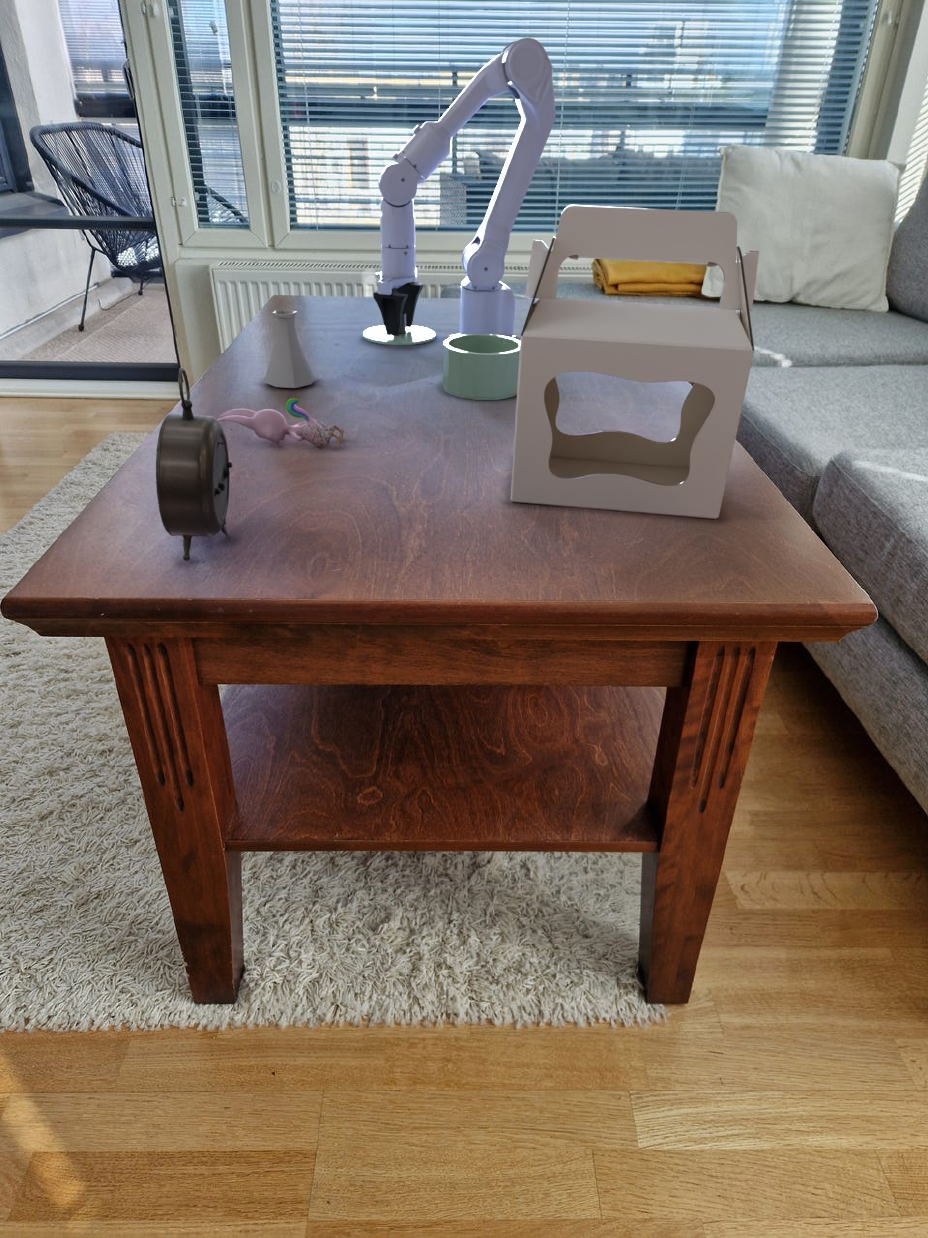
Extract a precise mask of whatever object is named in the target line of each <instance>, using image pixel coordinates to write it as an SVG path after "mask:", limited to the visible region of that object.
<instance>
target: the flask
mask: <svg viewBox="0 0 928 1238" xmlns="http://www.w3.org/2000/svg"><path fill="white" fill-rule="evenodd" d="M297 314H298V311H297V310H293V309H283V308H282V309H277V310H274V311H272V317H274V320H275V333H274V342H273V345H272V350H271V354H270V359H269V362H268V366H267V369H266V372H265V377H264V381H263V383H264V384H267V385H270V386H273V387H274V388H285V389H286V388H287V389H296V388H298V389H299V388H301V387H306V386H309V385H310V386H311V385H312V384H313V383H314V382H315V381H316V380H317V377H316V375H315V372H314V370H313V368H312V366H311V363H310V362H309V359H308V357H307V356H306V352H305V350H304V348H303V345H302V343H301V340H300V338H299V334H298V330H297V325H296V317H297Z"/></svg>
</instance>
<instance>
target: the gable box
mask: <svg viewBox="0 0 928 1238" xmlns="http://www.w3.org/2000/svg"><path fill="white" fill-rule="evenodd" d="M759 256H760V251H759V250H748V251H747V252H745V253H744V254H743V253H742V250H741V247H740V246H738V220H737V218H736V216H735V215H734V214H733V213H731V212H728V211H713V210H712V211H711V210H710V211H709V210H693V209H692V210H687V209H669V208H668V209H667V208H646V207H628V206H627V207H624V206H603V205H602V206H601V205H585V204H584V205H583V204H582V205H581V204H569V205H567V206H566V207H565V208H564V209H563V210H562V212H561V213H560V218H559V222H558V227H557V230H556V234H555V236H552V239H551V242H550V245H549V246H548V245H547V244H546V243H545V241H543V239H532V246H531V252H530V259H529V266H528V273H527V279H526V287H525V293H524V298H525V299H532V300H531V302H530V306H529V309H528V312H527V314H526V317H525V321H524V324H523V327H522V329H521V333H520V340H519V341H520V355H519V371H518V387H517V395H516V404H515V405H516V406H515V420H514V421H515V422H514V433H513V435H514V437H513V450H512V451H513V453H512V468H511V469H512V470H511V484H510V502H512V503H521V504H531V505H543V506H544V505H545V506H555V507H556V506H557V507H565V508H567V507H568V508H581V509H593V510H602V511H616V512H629V513H639V514H649V515H650V514H652V515H661V516H662V515H663V516H676V517H689V518H697V519H699V518H700V519H711V520H712V519H713V520H716V519H719V517H720V513H721V508H722V504H723V499H724V494H725V489H726V485H727V480H728V475H729V471H730V466H731V461H732V456H733V452H734V448H735V443H736V438H737V433H738V428H739V425H740V419H741V415H742V410H743V405H744V401H745V395H746V393H747V386H748V381H749V378H750V373H751V367H752V362H753V358H754V353H755V343H754V336H753V328H752V320H751V313H750V312H752V311H753V306H754V305H753V304H754V297H755V290H756V289H755V288H756V280H757V272H758V265H759ZM568 258H569V259H572V260H575V261H576V260H578V259H579V258H580V259H596V260H615V261H634V262H636V261H637V262H654V263H670V264H672V263H673V264H688V265H689V264H691V265H692V264H693V265H706V266H707V267H709V268H713V267H716V266H718V267H719V268H720V270H721V271H722V274H723V283H722V288H721V294H720V298H719V304H718V307H717V306H700V305H682V304H665V303H648V302H647V303H646V302H632V301H631V302H630V301H616V300H615V301H613V300H612V301H611V300H596V299H595V300H594V299H581V298H580V299H579V298H578V299H577V298H563V297H561V298H560V297H557V294H558V293H557V292H558V291H557V290H558V281H559V271H560V268H561V265H562V264H563V262H564V261H565V260H566V259H568ZM536 299H537V300H536ZM580 372H581V373H594V374H595V373H596V374H601V375H607V376H612V377H615V378H619V379H624V380H628V381H631V382H638V383H644V384H645V383H647V384H651V383H653V384H654V383H656V384H657V383H671V382H673V383H674V382H685V383H686V382H688V383H693V384H692V387H691V388H690V390H689V392H688V394H687V395H686V397H685V399H684V402H683V403H682V407H681V410H680V422H679V423H680V424H679V425H680V426H679V430H678V433H677V435H676V436H675V438H673V439H672V440H669V441H656V440H652V439H649V438H646V437H644V436H641V435H638V434H636V433H631V432H627V431H622V430H601V431H594V432H588V433H579V434H573V433H565V432H563V431H561V430H560V429H559V428H558V426H557V422H556V420H557V416H558V415H557V414H558V411H559V407H560V390H559V386H558V381H557V378H556V377H557V376H561V375H562V374H567V373H580Z"/></svg>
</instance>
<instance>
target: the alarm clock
mask: <svg viewBox="0 0 928 1238" xmlns="http://www.w3.org/2000/svg"><path fill="white" fill-rule="evenodd" d="M177 377H178V378H177V383H178V390H179V396H180V400H181V402H180V406H181V408H182V413H172V412H171V413H168V414H167V415H166V416H165V417H164V418H163V420H162V423H161V426H160V429H159V434H158V437H157V443H156V450H155V451H156V453H155V456H156V457H155V486H156V496H157V504H158V509H159V510H158V512H159V515H160V518H161V519H160V520H161V523H162V526H163V527H164V530H165V531H166V532H167V534H169V535H170V536H171V537H175V536H177V537H179V536H181V537H182V538H183V539H182V540H183V541H182V545H183V555H182V560H183V561H185V562H188V561H190V560H191V556H190V551H191V546H192V539H193V537H204V538H210V537H214V536H216V535H217V534H218V533H220V531H221V532H222V534H223V535H224V536H225V537H226V538H227V539H229V540H231V539H232V537H231V535H230V534H229V532H228V530H227V527H226V524H227V513H228V510H229V509H228V508H229V500H230V499H229V498H230V475H231V471H230V469H232V468H233V463H232V462H231V461H230V458H229V456H230V455H229V449H228V441H227V437H226V433H225V430H224V428H223V426H222V424H221V423H220V422H218V421H217V418H216V417H213V416H211V415H201V414H193V409H192V408H193V402H192V400H191V392H190V391H191V390H190V384H189V378H188V374H187V372H186V369H185V368H184V367H180V368H178V376H177ZM183 380H184V383H185V390H186V399H185V396H184V395H185V394H184V387H183Z"/></svg>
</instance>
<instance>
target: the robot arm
mask: <svg viewBox="0 0 928 1238" xmlns="http://www.w3.org/2000/svg"><path fill="white" fill-rule="evenodd" d="M553 78H554V67H553V65H552V63H551V60H550V58H549V55H548V53H547V51H546V49H545V47H544V45H543V44H542V43H541V42H540V41H539V40H537V39H535V38H532V37H523V38H520V39H517V40H514V41H512V42H509V43H508V44H506V46H505V47H503V49H502V50H501V52H500V53H499V54H497V55H495V56H494V57H492V59H491V60H489V61H488V62H487V63H486V64H485V65H484V66H482V67H481V68H480V70H478V71H477V73H476V74H475V75H474V77H473V78H472V79H471V80H470V81H469V83H467V84H466V86H465V87H464V88H463V90H462V91H461V92H460V93H459V95H458V96H457V97H456V98H455V99H454V101H453V102H452V103H451V104H450V106H449V108H447V109H446V111H445V112H443V114H442V116H441V117H440V118H439V119H438V121H425V122H424V123H422V125H421V126H420V125H419V124H417V125H416V126H415V127H414V128H413V129H412V134H413V135H412V137H411V138H410V139H409V140H408V141H407V142H406V143H405V145H404V146H403V147H402V148H401V149H400V151H398V152H397V151H394V153H393V154H392V155H391V159H392V160H393V161H394V162H392V163H389V164H387V165H386V166H385V167H383V169H382V170H381V172H380V174H379V178H378V182H377V185H378V189H379V192H380V194H381V196H382V197H381V201H380V211H381V213H380V214H379V226H380V227H379V230H380V266H381V271H376V272H375V273H374V278H376V279H379V281H378V282H377V289H374V290H373V292H372V297H373V299H374V301H375V303H376V304H377V307H378V309H379V311H380V314H381V318H382V322H383V325H384V326H385V330H386V334H387V335H392V336H399V334H400V329H401V320H402V312H405V313H406V327H411V326H413V321H414V317H415V312H416V307H417V303H418V300H419V297H420V295H421V292H422V291H423V289H424V283H423V282H417V280H418V267H416V215H415V213H414V212H415V211H414V210H415V209H414V207H415V206H414V203H415V202H414V201H415V200H414V199H415V197H416V196H417V192H418V185H419V184H425V182H426V181H427V180H428V179H429V178H430V177H431V176H432V175H433V174H434V172H435V171H436V170H437V169H438V167H439V166H441V164H442V163H443V162H444V161H446V159H447V157H449V155H451V153H452V140H453V137H454V136H455V135H456V134H457V133H459V131H460V130H461V129H462V128H463V127H464V126H465V125H466V124H467V122H469V120H470V119H471V118H472V117H473V116H474V115H475V114H476V113H477V112H478V111H479V110H480V109H481V107H482V106H484V105H485V103H486V102H488V100H489V99H490V98H494V97H497V96H499V95H500V96H501V95H503V94H506V93H509V92H510V93H511V95H512V96H513V97H514V100H515V101H514V102H515V103H516V107H517V109H518V112H519V114H520V117H521V121H520V122H519V123H520V124H519V126H518V129H517V131H516V133H515V136H514V139H513V142H512V145H511V147H510V150H509V152H508V155H507V158H506V160H505V163H504V166H503V168H502V171H501V174H500V176H499V178H498V182H497V185H496V187H495V189H494V192H493V195H492V197H491V200H490V202H489V205H488V208H487V210H486V213H485V215H484V219H483V221H482V223H481V224H480V226H479V227H478V229H477V230H476V234H475V235H474V238H473V239H472V241H470V243H468V244H467V246H466V247H465V248H464V250H463V252H462V256H461V265H462V268H463V270H464V272H465V273H466V276H465V278H464V279H463V280H462V281H461V282H460V304H459V305H460V306H459V307H460V309H459V316H460V317H459V332H458V333H454V334H450V335H449V338H450V337H454V336H458V335H466V334H492V335H500V336H506V337H510V338H517V335H514V328H515V310H516V299H515V295H514V293H513V290H512V289H511V288H510V287H509V286H508V285H507V284H505V283H503V281H502V280H503V277H504V274H505V269H506V268H505V257H506V254H507V253H508V248H509V245H510V244H509V243H510V236H511V233H512V230H513V228H514V225H515V222H516V220H517V217H518V215H519V213H520V211H521V208H522V205H523V203H524V201H525V197H526V195H527V192H528V190H529V188H530V184H531V183H532V180H533V177H534V175H535V172H536V170H537V167H538V165H539V162H540V160H541V157H542V154H543V152H544V149H545V147H546V144H547V141H548V139H549V137H550V135H551V132H552V129H553V127H554V124H555V121H556V117H557V111H556V110H557V109H556V101H555V89H554V80H553Z"/></svg>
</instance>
